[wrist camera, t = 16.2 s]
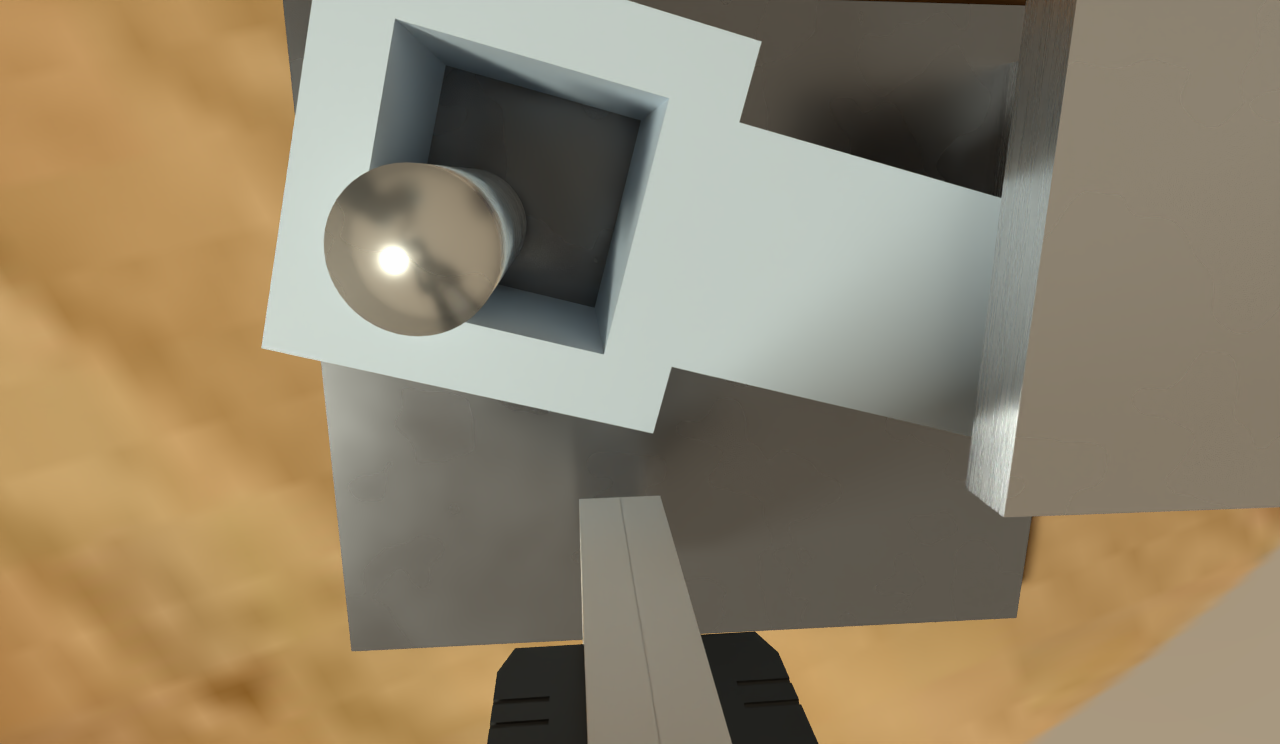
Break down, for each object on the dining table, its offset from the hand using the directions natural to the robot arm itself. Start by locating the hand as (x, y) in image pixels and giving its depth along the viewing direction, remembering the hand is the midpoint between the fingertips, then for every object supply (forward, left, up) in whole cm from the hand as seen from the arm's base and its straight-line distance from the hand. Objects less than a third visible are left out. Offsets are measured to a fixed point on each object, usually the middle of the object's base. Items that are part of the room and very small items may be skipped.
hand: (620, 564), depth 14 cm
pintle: (-6, -3, -3) cm, 7 cm away
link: (-6, +1, -2) cm, 6 cm away
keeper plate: (-4, +2, -3) cm, 5 cm away
